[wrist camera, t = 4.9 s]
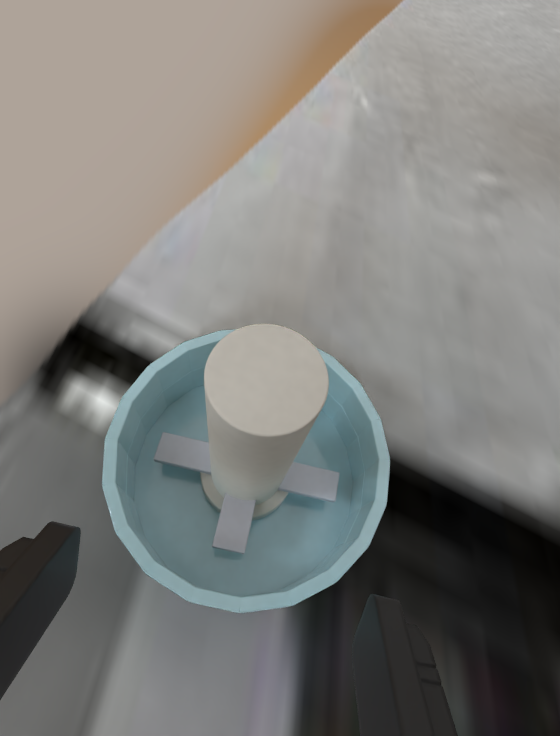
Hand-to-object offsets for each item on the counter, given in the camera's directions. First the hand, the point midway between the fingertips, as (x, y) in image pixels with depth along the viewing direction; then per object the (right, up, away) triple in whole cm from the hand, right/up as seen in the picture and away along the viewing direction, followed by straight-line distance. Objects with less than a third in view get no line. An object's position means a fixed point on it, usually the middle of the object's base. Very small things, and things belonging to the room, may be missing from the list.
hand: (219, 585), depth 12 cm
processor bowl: (0, -1, +14) cm, 14 cm away
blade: (0, 0, +14) cm, 14 cm away
